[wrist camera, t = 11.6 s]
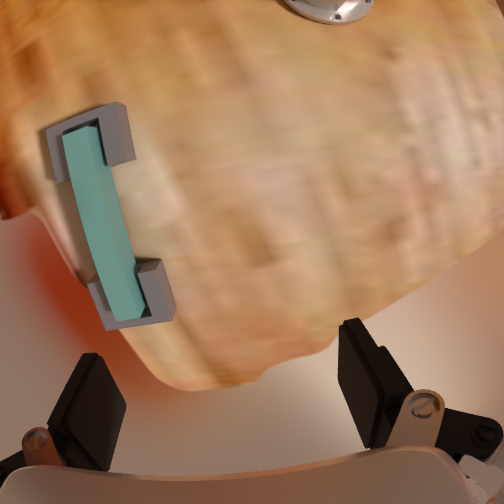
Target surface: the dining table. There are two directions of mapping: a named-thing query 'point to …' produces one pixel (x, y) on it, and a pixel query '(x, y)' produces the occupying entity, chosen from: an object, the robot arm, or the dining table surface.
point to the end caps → (117, 152)
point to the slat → (104, 222)
